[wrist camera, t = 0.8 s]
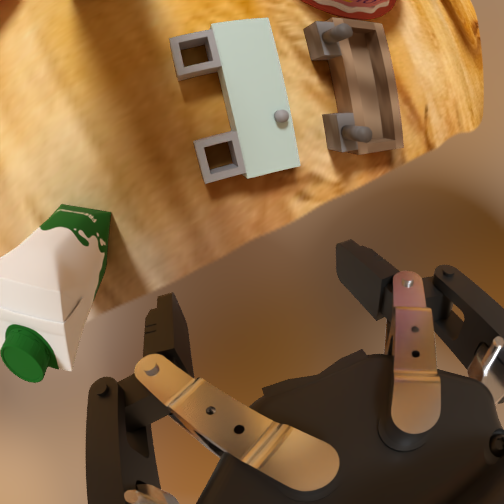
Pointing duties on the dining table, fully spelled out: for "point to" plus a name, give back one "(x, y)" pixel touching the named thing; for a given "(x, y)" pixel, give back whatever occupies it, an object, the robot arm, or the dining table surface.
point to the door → (244, 97)
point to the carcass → (358, 85)
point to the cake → (354, 7)
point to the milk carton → (51, 290)
